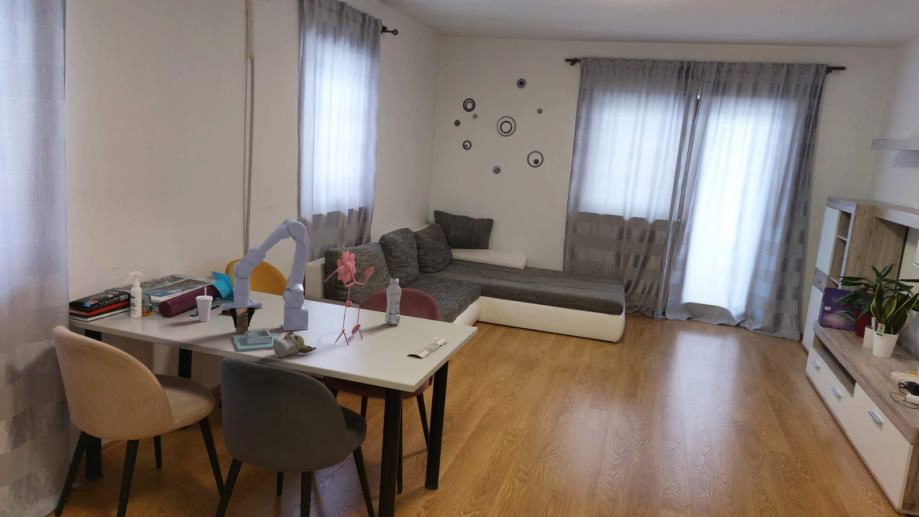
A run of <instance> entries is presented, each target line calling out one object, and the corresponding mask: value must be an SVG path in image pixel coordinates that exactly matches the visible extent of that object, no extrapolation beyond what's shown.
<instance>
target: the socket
mask: <svg viewBox="0 0 919 517" xmlns="http://www.w3.org/2000/svg"><path fill="white" fill-rule="evenodd" d="M270 333H271V332H270V331H269V329H260V330H248V331H244V334H243V335H244V338H245V340H246V342H247V345H253V344H266V343H272V335H271V334H270Z"/></svg>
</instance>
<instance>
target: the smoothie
mask: <svg viewBox="0 0 919 517" xmlns="http://www.w3.org/2000/svg"><path fill="white" fill-rule="evenodd" d="M213 298H214V297H213V296H211V295H207V287H206V286H204V295H198V296H196V297H195V301H196V305H197V310H198V311H197V312H198V319H199V322H201V323H202V322H203V323H206V322H209V321H210V317H211V310H212V303H213V302H212V301H213Z"/></svg>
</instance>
